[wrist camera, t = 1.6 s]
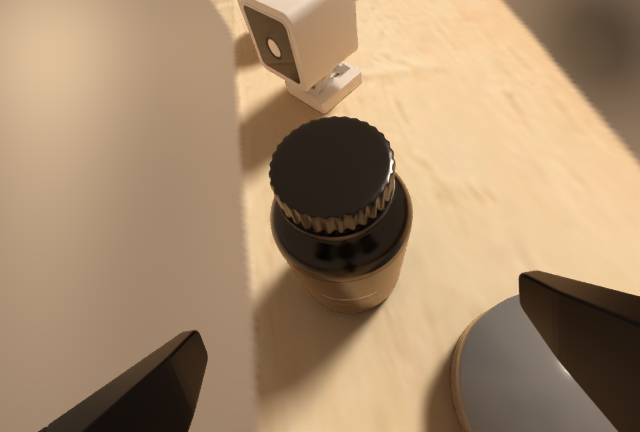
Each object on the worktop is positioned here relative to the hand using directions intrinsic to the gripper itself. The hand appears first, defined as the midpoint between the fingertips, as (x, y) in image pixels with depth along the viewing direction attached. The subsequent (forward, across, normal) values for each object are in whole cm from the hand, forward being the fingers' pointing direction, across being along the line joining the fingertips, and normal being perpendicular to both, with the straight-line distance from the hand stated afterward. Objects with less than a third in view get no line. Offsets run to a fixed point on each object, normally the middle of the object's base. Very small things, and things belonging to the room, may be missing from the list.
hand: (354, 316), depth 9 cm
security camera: (+26, 0, -8) cm, 27 cm away
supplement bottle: (+13, 0, +5) cm, 14 cm away
